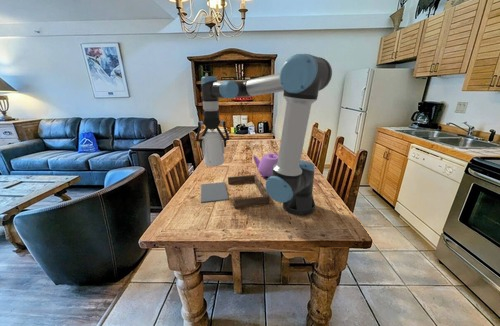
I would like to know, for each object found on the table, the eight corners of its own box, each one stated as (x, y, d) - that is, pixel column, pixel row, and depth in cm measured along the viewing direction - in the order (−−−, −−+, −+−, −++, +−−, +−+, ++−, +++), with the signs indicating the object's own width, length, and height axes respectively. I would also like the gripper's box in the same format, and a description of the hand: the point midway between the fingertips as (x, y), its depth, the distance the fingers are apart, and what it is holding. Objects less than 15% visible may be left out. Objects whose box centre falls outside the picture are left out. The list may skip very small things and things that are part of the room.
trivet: (228, 199, 112) (228, 198, 112) (201, 202, 110) (200, 201, 110) (224, 183, 133) (224, 182, 133) (201, 185, 130) (201, 184, 130)
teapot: (259, 167, 158) (259, 147, 153) (286, 171, 151) (287, 150, 146) (249, 177, 141) (248, 155, 136) (279, 181, 134) (280, 158, 129)
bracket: (269, 204, 107) (269, 197, 106) (234, 208, 104) (234, 200, 103) (255, 180, 136) (255, 174, 134) (228, 183, 132) (227, 177, 131)
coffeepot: (193, 171, 106) (190, 133, 100) (212, 156, 129) (211, 124, 123) (215, 173, 104) (212, 134, 97) (230, 157, 127) (229, 125, 121)
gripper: (232, 109, 113) (233, 150, 120) (188, 109, 109) (192, 152, 116) (234, 110, 106) (235, 154, 113) (187, 111, 102) (191, 156, 109)
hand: (213, 153), depth 114 cm, fingers closed on coffeepot, 10 cm apart
